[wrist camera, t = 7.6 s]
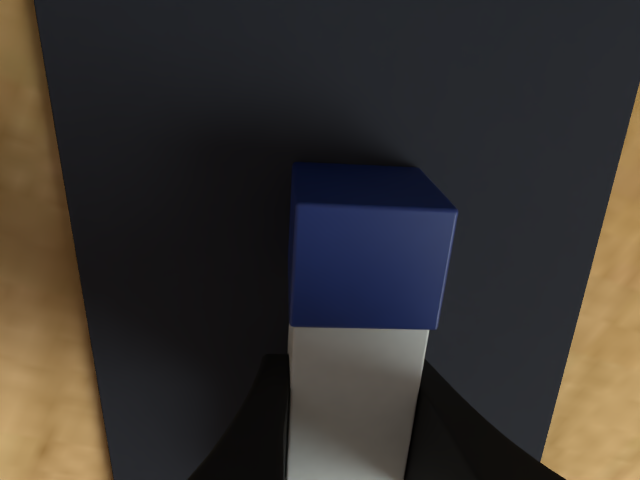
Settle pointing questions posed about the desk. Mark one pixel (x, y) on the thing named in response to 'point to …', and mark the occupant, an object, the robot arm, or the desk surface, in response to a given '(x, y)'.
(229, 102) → the mat
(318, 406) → the marker
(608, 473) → the desk surface
